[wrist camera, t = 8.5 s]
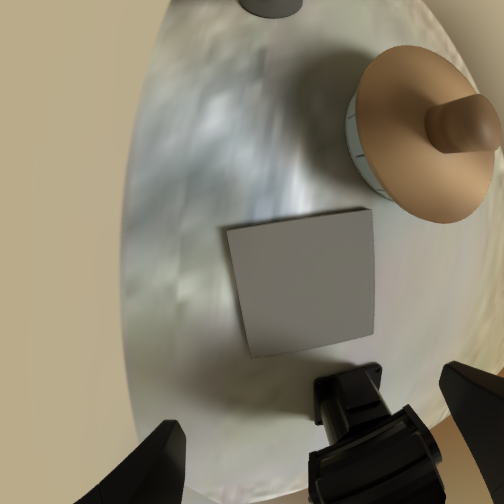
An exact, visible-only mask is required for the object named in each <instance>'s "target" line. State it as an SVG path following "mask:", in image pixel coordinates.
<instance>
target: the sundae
mask: <svg viewBox="0 0 504 504" xmlns="http://www.w3.org/2000/svg"><path fill="white" fill-rule="evenodd" d="M239 1H240V3H241V5H242V6H243V7H244V8H245V9H246V10H247V11H249V12H250V13H253V14H255V15H258V16H261V17H266V18H283V17H288V16H290V15H293V14H295V13H296V12H298V11H299V9H300V8H301V7H302V3H303V0H239Z"/></svg>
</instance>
